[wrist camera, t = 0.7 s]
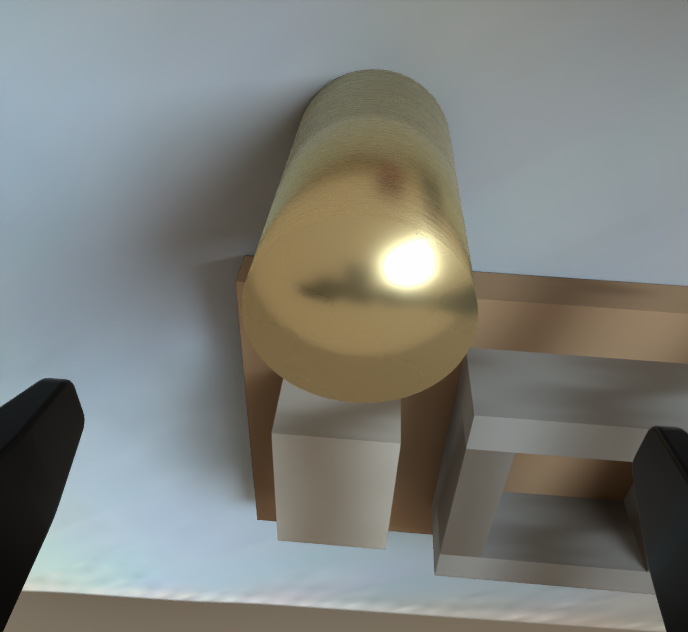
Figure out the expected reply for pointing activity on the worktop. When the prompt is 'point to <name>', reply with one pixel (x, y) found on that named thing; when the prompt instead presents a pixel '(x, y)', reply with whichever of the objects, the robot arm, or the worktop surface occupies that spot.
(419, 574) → the worktop surface
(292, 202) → the cylinder
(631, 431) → the jig
